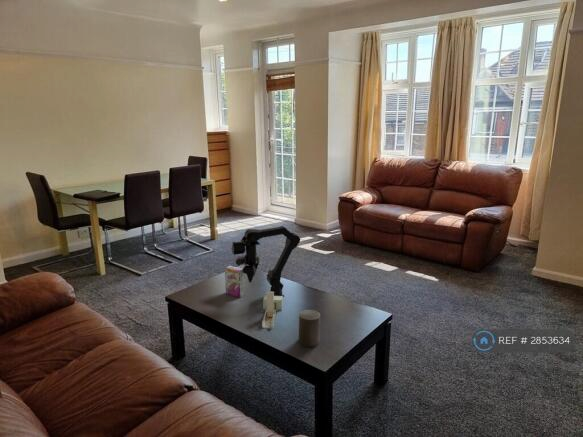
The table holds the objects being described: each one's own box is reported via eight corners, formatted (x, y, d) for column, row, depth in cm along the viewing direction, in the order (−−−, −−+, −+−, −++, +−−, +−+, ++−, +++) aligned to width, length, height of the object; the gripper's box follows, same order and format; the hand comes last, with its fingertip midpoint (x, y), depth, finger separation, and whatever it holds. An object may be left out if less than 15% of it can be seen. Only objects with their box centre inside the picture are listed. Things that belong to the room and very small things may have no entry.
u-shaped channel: (266, 314, 214) (266, 309, 213) (276, 314, 214) (276, 309, 213) (262, 328, 200) (261, 322, 199) (272, 328, 200) (272, 323, 199)
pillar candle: (304, 349, 182) (304, 318, 179) (295, 338, 191) (295, 309, 187) (323, 344, 186) (324, 314, 182) (313, 334, 195) (314, 305, 191)
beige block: (270, 305, 222) (269, 283, 218) (276, 306, 221) (276, 283, 218) (266, 316, 210) (266, 293, 206) (273, 317, 209) (273, 293, 206)
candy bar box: (225, 293, 239) (224, 267, 235) (231, 290, 243) (229, 265, 239) (240, 298, 233) (239, 271, 229) (245, 295, 237) (244, 268, 233)
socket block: (264, 305, 224) (264, 295, 223) (282, 306, 223) (282, 296, 222) (263, 309, 219) (263, 299, 218) (281, 310, 218) (281, 300, 217)
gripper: (240, 246, 233) (241, 272, 237) (232, 257, 215) (233, 285, 219) (259, 247, 232) (259, 272, 236) (253, 258, 214) (254, 285, 218)
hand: (251, 278), depth 227 cm, fingers open, 9 cm apart
